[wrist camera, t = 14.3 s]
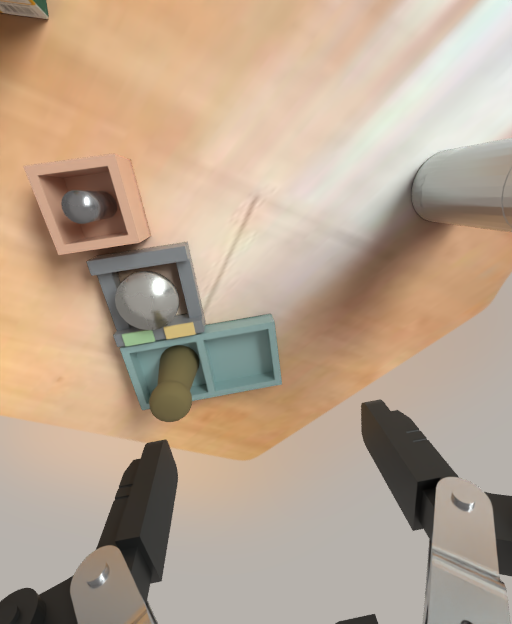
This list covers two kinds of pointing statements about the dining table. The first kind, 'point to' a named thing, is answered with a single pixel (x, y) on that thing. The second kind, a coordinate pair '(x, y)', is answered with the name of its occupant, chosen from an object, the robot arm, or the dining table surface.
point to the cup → (90, 177)
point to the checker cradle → (147, 257)
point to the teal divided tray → (213, 359)
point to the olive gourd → (174, 383)
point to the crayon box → (25, 8)
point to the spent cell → (88, 206)
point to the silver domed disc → (147, 300)
